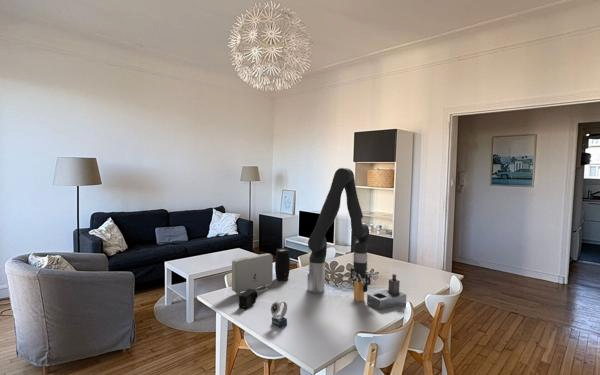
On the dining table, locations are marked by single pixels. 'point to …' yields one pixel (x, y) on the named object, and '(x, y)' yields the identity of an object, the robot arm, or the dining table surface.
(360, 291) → the orange plug
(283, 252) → the portable speaker
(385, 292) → the grey stone block holder
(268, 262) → the network device
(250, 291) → the digital camera
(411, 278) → the dining table surface
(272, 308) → the watch
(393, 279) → the twin plug
